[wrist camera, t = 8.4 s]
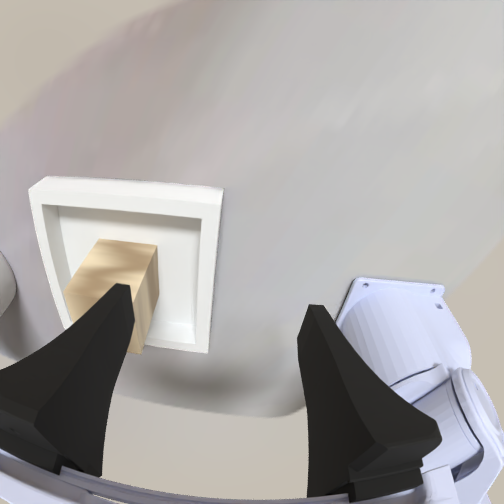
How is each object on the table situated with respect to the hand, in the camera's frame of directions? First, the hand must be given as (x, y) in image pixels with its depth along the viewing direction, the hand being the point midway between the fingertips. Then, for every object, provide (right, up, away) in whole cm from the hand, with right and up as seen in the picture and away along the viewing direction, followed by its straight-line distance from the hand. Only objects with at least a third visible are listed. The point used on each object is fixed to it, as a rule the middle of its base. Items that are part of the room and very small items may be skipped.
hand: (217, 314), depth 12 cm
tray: (-8, +2, +10) cm, 13 cm away
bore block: (-8, +1, +10) cm, 12 cm away
